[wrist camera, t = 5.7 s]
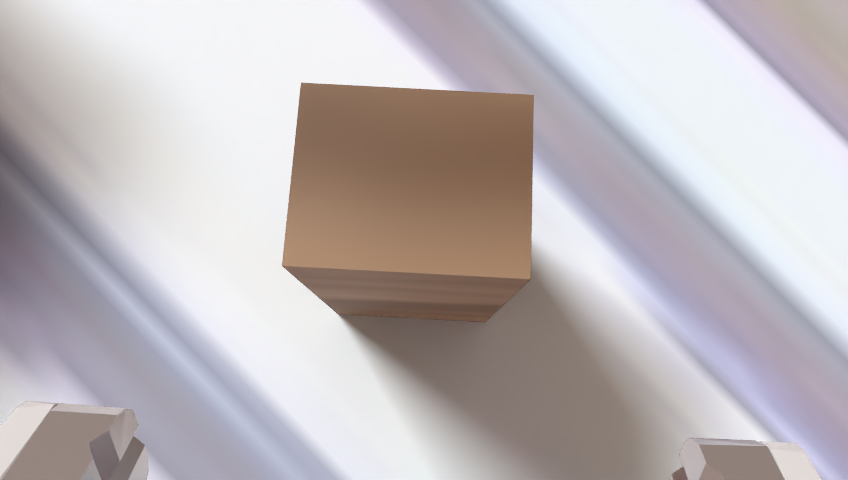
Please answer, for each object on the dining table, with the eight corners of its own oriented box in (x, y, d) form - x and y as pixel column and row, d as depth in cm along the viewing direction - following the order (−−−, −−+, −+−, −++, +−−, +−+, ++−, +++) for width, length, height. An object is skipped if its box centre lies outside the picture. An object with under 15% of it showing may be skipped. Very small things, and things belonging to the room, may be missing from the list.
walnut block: (485, 322, 22) (530, 279, 13) (337, 313, 22) (282, 265, 13) (489, 199, 22) (533, 82, 14) (347, 192, 23) (302, 69, 14)
